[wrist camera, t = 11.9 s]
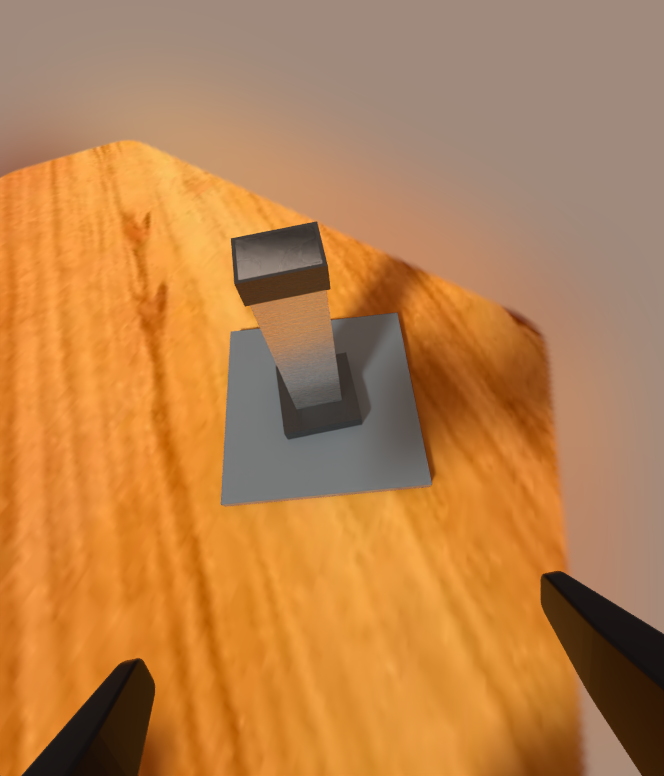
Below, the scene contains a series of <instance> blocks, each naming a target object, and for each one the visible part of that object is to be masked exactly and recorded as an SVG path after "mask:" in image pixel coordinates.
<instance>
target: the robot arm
mask: <svg viewBox="0 0 664 776" xmlns="http://www.w3.org/2000/svg"><path fill="white" fill-rule="evenodd" d="M541 605H542V608H543V610H544V613H545V615H546V616H547V618H548V620H549V622H550V624H551V626H552V628H553V629H554V631H555V633H556V635H557V637H558V639H559V640H560V642H561V644H562V646H563V648H564V650H565V651H566V653H567V655H568V657H569V659H570V661H571V663H572V664H573V666H574V668H575V670H576V672H577V674H578V675H579V677H580V679H581V681H582V683H583V684H584V686H585V688H586V690H587V691H588V693H589V695H590V696H591V698H592V699H593V701H594V703H595V704H596V706H597V708H598V709H599V710H600V712H601V713H602V715H603V717H604V718H605V719H606V721H607V723H608V724H609V726H610V727H611V729H612V730H613V732H614V734H615V735H616V737H617V738H618V740H619V741H620V743H621V744H622V746H623V747H624V749H625V750H626V752H627V753H628V755H629V757H630V758H631V760H632V761H633V763H634V764H635V766H636V767H637V769H638V770H639V772H640V773H641V775H642V776H664V634H663V633H662V632H660V631H658V630H656V629H655V628H653V627H651V626H650V625H648V624H647V623H645V622H644V621H642V620H640V619H639V618H637V617H635V616H634V615H632V614H631V613H629V612H627V611H625V610H624V609H622V608H621V607H619V606H617V605H616V604H614V603H613V602H611V601H609V600H608V599H606V598H604V597H603V596H601V595H600V594H598V593H596V592H595V591H593V590H591V589H590V588H588V587H586V586H585V585H583V584H582V583H580V582H578V581H577V580H575V579H574V578H572V577H570V576H569V575H567V574H565V573H564V572H561V571H554V572H549V573H545V574H543V575H542V576H541ZM154 696H155V683H154V680H153V678H152V676H151V674H150V672H149V670H148V668H147V666H146V665H145V663H144V661H143V660H142V659H140V658H137V659H132V660H127V661H124V662H122V663H120V664H119V665H118V666H117V667H116V668H115V669H114V670H113V671H112V673H111V674H110V675H109V676H108V677H107V678H106V679H105V681H104V682H103V683H102V684H101V685H100V686H99V687H98V689H97V690H96V691H95V692H94V693H93V694H92V695H91V697H90V698H89V699H88V700H87V701H86V702H85V703H84V705H83V706H82V707H81V708H80V709H79V710H78V712H77V713H76V714H75V715H74V716H73V717H72V718H71V720H70V721H69V722H68V723H67V724H66V725H65V726H64V728H63V729H62V730H61V731H60V732H59V733H58V734H57V736H56V737H55V738H54V739H53V740H52V741H51V742H50V744H49V745H48V746H47V747H46V748H45V749H44V750H43V752H42V753H41V754H40V755H39V756H38V757H37V758H36V760H35V761H34V762H33V763H32V764H31V765H30V766H29V768H28V769H27V770H26V771H25V772H24V773H23V774H22V776H138V774H139V769H140V764H141V760H142V755H143V750H144V745H145V740H146V735H147V730H148V725H149V720H150V715H151V710H152V706H153V701H154Z"/></svg>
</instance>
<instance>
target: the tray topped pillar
mask: <svg viewBox="0 0 664 776" xmlns="http://www.w3.org/2000/svg"><path fill="white" fill-rule="evenodd" d="M231 245H232V258H233V271H234V284H235V286H236V288H237V290H238V293H239V295H240V297H241V299H242V301H243V303H244V305H245V306H250V307H251V309H252V311H253V314H254V316H255V318H256V320H257V322H258V325H259V327H260V329H261V331H262V334H263V336H264V338H265V340H266V342H267V345H268V347H269V349H270V351H271V354H272V356H273V358H274V360H275V362H276V365H277V366H276V374H277V382H278V390H279V398H280V405H281V413H282V421H283V428H284V434H285V436H286V438H287V439H288V440H289V439H294V438H299V437H304V436H309V435H314V434H319V433H324V432H329V431H334V430H339V429H343V428H348V427H353V426H358V425H362V416H361V412H360V408H359V404H358V400H357V395H356V391H355V387H354V383H353V379H352V375H351V370H350V366H349V362H348V358H347V354H346V352H345V353H340V354H335V348H334V341H333V334H332V326H331V319H330V312H329V305H328V298H327V291H326V290H329V289H330V281H329V273H328V265H327V261H326V257H325V253H324V249H323V245H322V240H321V236H320V232H319V228H318V224H317V222H312V223H307V224H302V225H297V226H292V227H287V228H282V229H277V230H272V231H266V232H261V233H256V234H251V235H246V236H241V237H236V238H231Z"/></svg>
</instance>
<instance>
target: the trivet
mask: <svg viewBox="0 0 664 776" xmlns="http://www.w3.org/2000/svg"><path fill="white" fill-rule="evenodd" d="M331 326H332V334H333V341H334V348H335V354H340V353H345V352H346V354H347V358H348V362H349V366H350V370H351V375H352V379H353V383H354V387H355V391H356V395H357V400H358V404H359V408H360V412H361V416H362V425H358V426H353V427H348V428H343V429H339V430H334V431H329V432H324V433H319V434H314V435H309V436H304V437H299V438H294V439H289V440H288V439H287V438H286V436H285V434H284V428H283V421H282V413H281V405H280V398H279V390H278V382H277V374H276V366H277V365H276V362H275V360H274V358H273V356H272V354H271V351H270V349H269V347H268V345H267V342H266V340H265V338H264V336H263V334H262V331H261V329H260V328H259V329H251V330H242V331H233V332H231V338H230V355H229V372H228V390H227V407H226V424H225V442H224V459H223V476H222V493H221V505H223V506H225V507H226V506H236V505H247V504H257V503H267V502H278V501H288V500H299V499H309V498H319V497H330V496H340V495H351V494H361V493H371V492H382V491H392V490H402V489H413V488H423V487H430V486H431V485H432V482H431V477H430V472H429V467H428V462H427V457H426V452H425V447H424V442H423V437H422V432H421V427H420V422H419V417H418V413H417V408H416V403H415V398H414V393H413V388H412V383H411V378H410V373H409V368H408V363H407V358H406V353H405V348H404V343H403V338H402V333H401V328H400V323H399V319H398V314H397V313H389V314H381V315H372V316H363V317H355V318H346V319H337V320H331Z"/></svg>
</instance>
